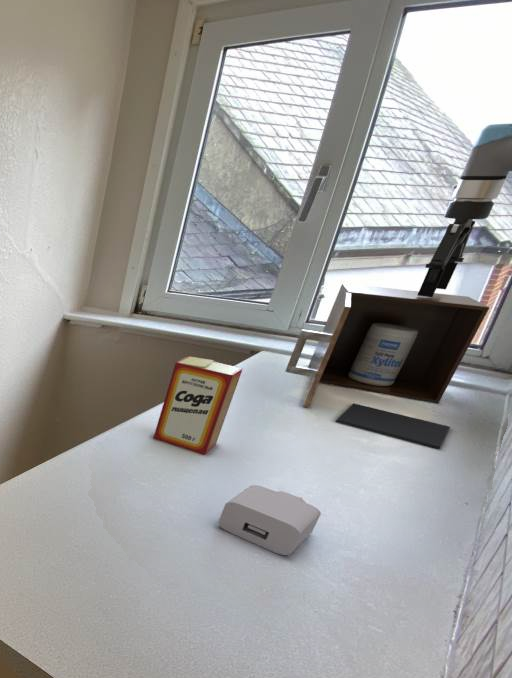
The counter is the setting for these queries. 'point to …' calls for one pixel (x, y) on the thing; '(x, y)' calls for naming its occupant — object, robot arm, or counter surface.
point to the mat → (395, 425)
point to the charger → (269, 518)
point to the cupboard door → (325, 354)
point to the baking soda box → (197, 403)
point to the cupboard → (427, 350)
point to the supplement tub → (382, 354)
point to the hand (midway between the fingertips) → (431, 292)
